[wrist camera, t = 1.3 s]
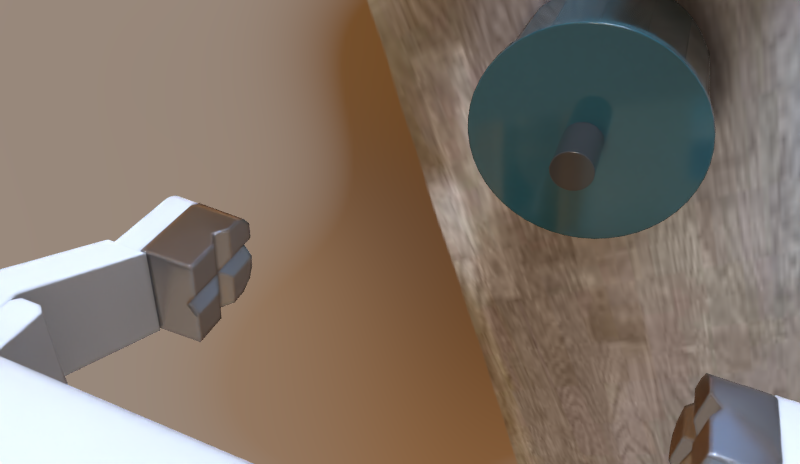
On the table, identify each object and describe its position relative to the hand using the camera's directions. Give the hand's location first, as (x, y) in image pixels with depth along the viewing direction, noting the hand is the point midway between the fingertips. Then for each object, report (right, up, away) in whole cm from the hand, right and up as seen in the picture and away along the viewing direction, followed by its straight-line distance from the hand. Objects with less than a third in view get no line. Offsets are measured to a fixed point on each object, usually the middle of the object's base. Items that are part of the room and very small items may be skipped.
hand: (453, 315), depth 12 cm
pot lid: (+10, +7, +27) cm, 29 cm away
